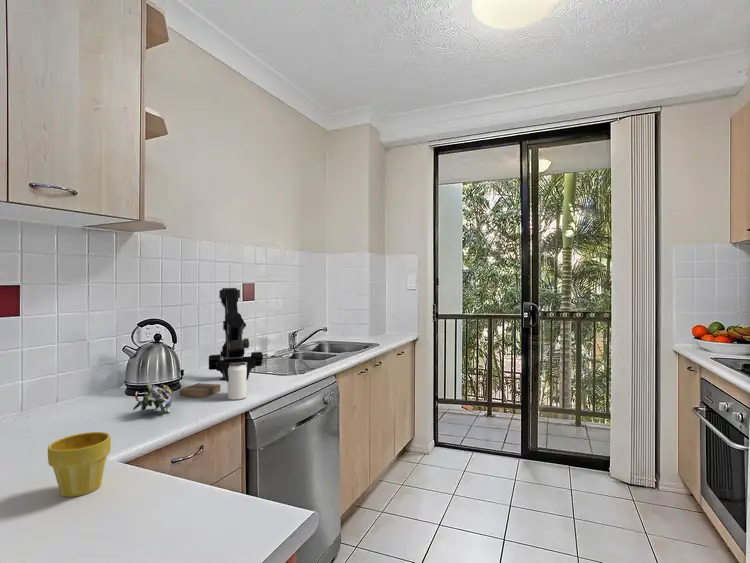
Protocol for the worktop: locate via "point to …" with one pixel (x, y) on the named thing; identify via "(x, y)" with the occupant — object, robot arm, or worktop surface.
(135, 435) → the worktop surface
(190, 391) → the walnut block
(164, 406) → the passion flower
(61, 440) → the plant pot
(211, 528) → the worktop surface
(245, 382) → the can
